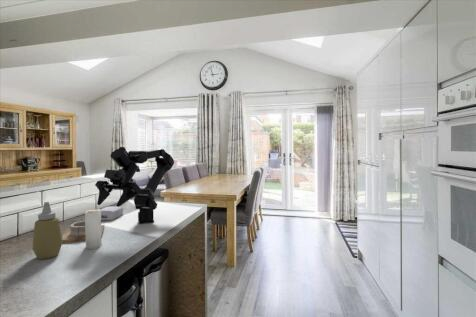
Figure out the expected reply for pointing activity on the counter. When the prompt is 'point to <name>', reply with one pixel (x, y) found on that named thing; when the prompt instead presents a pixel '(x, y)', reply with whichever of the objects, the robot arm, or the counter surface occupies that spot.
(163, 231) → the counter surface
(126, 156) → the robot arm
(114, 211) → the charger
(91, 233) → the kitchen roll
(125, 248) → the counter surface
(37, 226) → the squeeze bottle
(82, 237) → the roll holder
